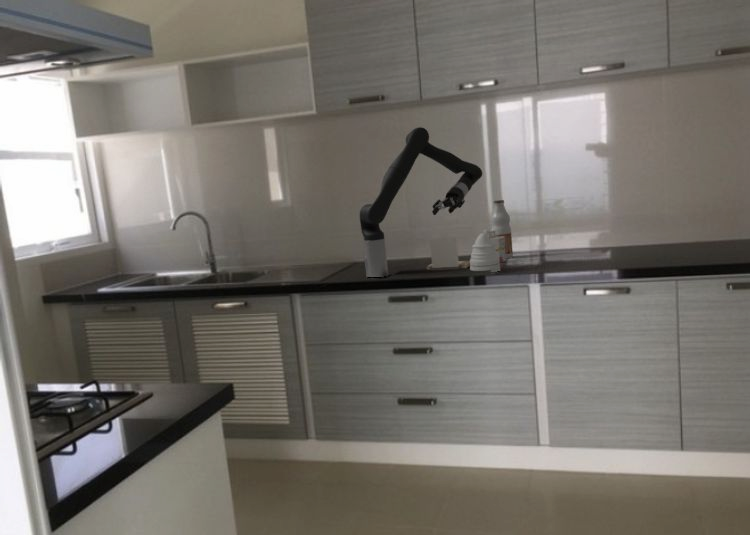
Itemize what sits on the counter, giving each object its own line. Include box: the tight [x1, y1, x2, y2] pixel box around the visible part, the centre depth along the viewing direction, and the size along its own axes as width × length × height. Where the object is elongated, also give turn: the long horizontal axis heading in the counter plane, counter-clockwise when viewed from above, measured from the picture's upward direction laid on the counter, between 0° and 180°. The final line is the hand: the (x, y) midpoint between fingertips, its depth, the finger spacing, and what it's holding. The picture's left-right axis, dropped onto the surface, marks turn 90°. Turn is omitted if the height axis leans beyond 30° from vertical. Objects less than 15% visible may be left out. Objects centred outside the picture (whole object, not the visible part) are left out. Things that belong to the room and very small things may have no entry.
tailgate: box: [429, 236, 460, 271], centre depth 289 cm, size 12×1×15 cm, turn 69°
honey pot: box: [469, 229, 501, 273], centre depth 281 cm, size 13×13×18 cm
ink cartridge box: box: [488, 231, 507, 264], centre depth 304 cm, size 9×5×15 cm, turn 150°
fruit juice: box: [490, 199, 514, 260], centre depth 314 cm, size 9×9×28 cm
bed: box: [426, 260, 470, 271], centre depth 296 cm, size 18×11×3 cm, turn 69°
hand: (441, 212), depth 288 cm, fingers open, 8 cm apart
